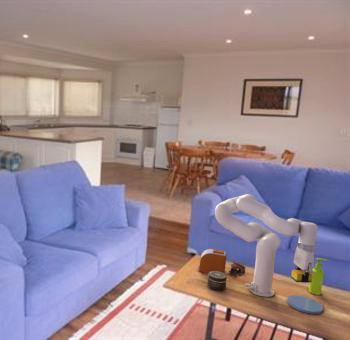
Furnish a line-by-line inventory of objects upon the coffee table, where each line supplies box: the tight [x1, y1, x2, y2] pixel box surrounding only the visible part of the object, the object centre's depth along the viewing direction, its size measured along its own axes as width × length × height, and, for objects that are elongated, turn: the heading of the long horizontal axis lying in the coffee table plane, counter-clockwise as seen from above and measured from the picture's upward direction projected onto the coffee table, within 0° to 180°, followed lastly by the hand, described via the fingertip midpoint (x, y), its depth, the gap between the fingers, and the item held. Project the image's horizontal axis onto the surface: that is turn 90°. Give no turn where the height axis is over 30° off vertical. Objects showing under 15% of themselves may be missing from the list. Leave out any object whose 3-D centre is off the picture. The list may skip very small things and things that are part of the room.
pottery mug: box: [228, 261, 246, 278], centre depth 224 cm, size 12×10×8 cm
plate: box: [287, 295, 324, 315], centre depth 192 cm, size 16×16×1 cm
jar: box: [207, 271, 228, 292], centre depth 208 cm, size 10×10×8 cm
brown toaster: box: [198, 248, 228, 275], centre depth 228 cm, size 15×8×14 cm, turn 69°
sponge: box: [290, 269, 313, 283], centre depth 192 cm, size 8×5×4 cm, turn 92°
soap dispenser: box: [308, 257, 329, 296], centre depth 205 cm, size 6×7×20 cm
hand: (301, 279), depth 192 cm, fingers closed on sponge, 5 cm apart
